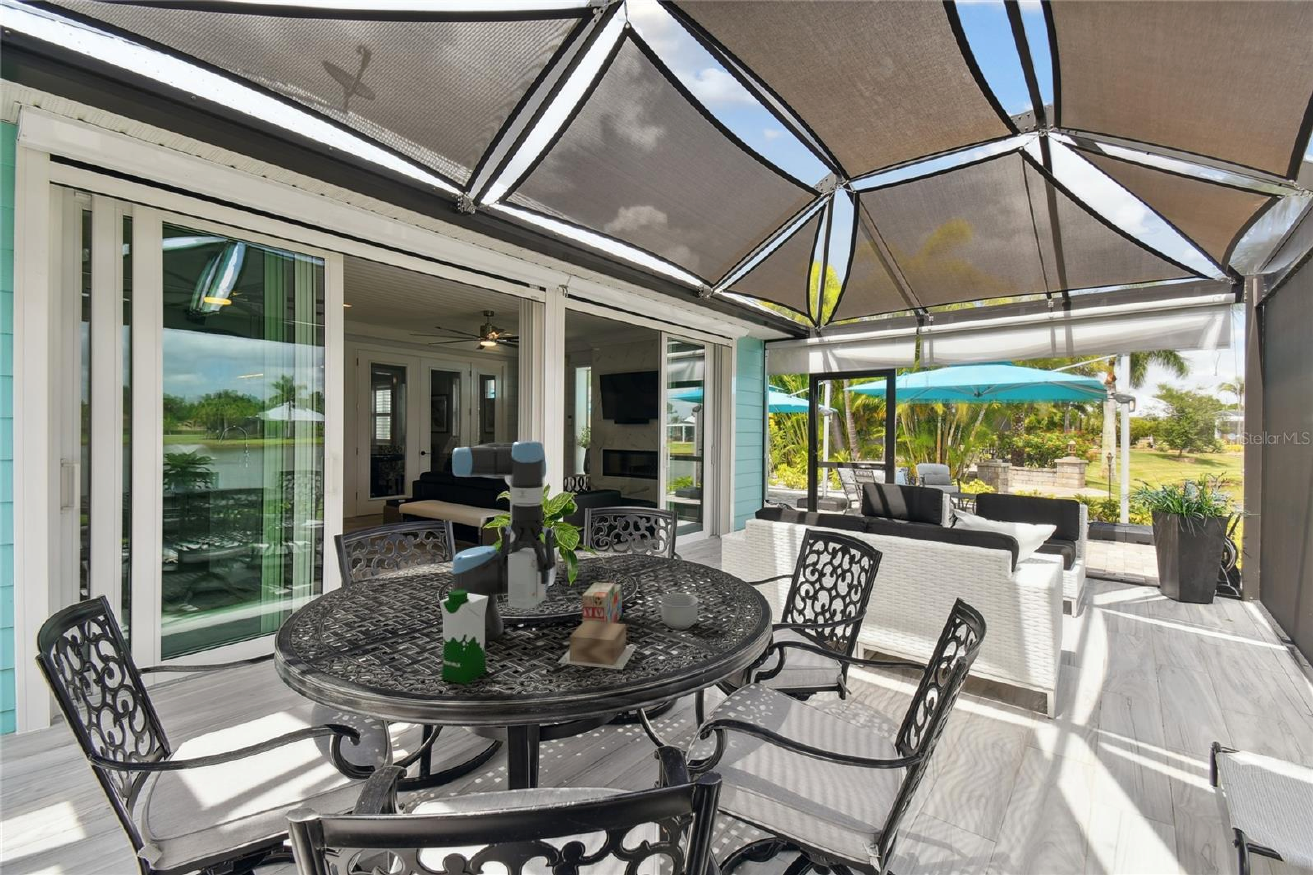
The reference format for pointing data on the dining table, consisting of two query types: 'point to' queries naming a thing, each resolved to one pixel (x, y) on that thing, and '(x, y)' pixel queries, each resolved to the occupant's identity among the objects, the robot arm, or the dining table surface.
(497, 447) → the robot arm
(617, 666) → the baseplate
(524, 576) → the small box
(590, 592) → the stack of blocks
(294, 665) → the dining table surface
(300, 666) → the dining table surface
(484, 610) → the milk carton
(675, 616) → the teacup
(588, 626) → the walnut brick
